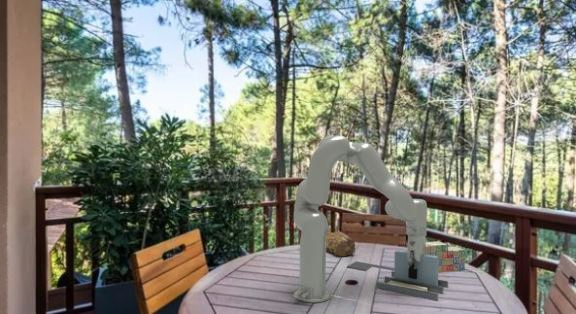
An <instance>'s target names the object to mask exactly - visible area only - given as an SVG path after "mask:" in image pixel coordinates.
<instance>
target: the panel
mask: <svg viewBox="0 0 576 314" xmlns="http://www.w3.org/2000/svg"><path fill="white" fill-rule="evenodd" d="M413 260H416V259H413ZM408 263H409V262H408V259H407V250H406V251H405V250H399V249H397V250H395V251H394V268H395V276H394V277H393V278H398V279H403V280H408V281H413V282H418V283H423V284H428V285H434V286H438V280H439V273H438V256H433V255H427V254H424V255H423V256H422V261H421V262H418V261H417V267H416V269H417V279H411V278H409V277H408V265H409V264H408ZM413 263H414V262H413ZM414 265H415V263H414Z"/></svg>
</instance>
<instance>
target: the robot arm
mask: <svg viewBox="0 0 576 314" xmlns="http://www.w3.org/2000/svg"><path fill="white" fill-rule="evenodd" d="M337 162H342V163H346V164H352V165H357V166H358V168H359V169H360V170H361V172H362V174H363V176H365V179H366V180H367V181H368V183H369V185H370V186H371V188H372V187H373V188H374V190H376V191H378V192H379V193H380V194H383V195H384V196H385V198H387V199H388V200H387V201H386V203H385V205H384V211H385V212H386V214H387V215H388V216H390V217H391V218H393V219H397V220H401V221H404V222H406V224H405V225H406V226H405V227H406V228H405V231H406V232H405V233H406V235H407V236H408V237H407V250H406V251H407V259H408V262H409V263H408V264H409V265H408V277H409V278H411V279H417V269H416V267H417V261H418V262H421V261H422V256H423V255H424V254H426V242H427V241H426V237H427V228H428V226H427V224H428V223H427V221H428V220H427V218H428V213H427V211H428V210H427V209H428V204H427V201H426V200H425V199H420V198H413V197H412V196H411V193H409V191H408V190H407V188H406V187H404V185H403V184H402V183H400V182H399V181H398V180H397V179H396V178H395V176H393V174H392V173H391V172H390V171H389V169H388V168H387V166H386V165H385V163H384V161H383V160H382V158H381V156H380V155H379V153H378V152H377V150H376V148H375V147H374V146H373V145H372V144H370V143H369V142H353V141H350V140H349V139H348V138H347V137H346V136H343V135H341V134H340V135H338V134H337V135H330V136H324V137H323V138H322V139H321V140H320V141H319V144H318V147H317V148H316V150H315V151H314V152H313V153H312V155H311V158H310V161H309V165H308V171H307V176H306V178H305V179H303V180H302V181H301V182H300V183H299V184H298V187H297V189H296V194H295V202H294V207H293V208H294V211H293V221H294V225H295V226H296V228H297V229H299V231H301V232H300V240H299V286H298V289H296V291H295V292H293V298H294V299H297V300H299V301H302V302H305V303H322V302H326V301H327V300H329V299H330V297H331V294H330V292H329V291H328V290H327V289H326V287H327V285H326V284H327V283H326V280H327V275H326V274H327V269H326V267H327V260H326V259H327V248H326V238H327V234H328V231H329V224H328V219H327V217H326V215H325V214H324V213H323V212H321V210H319V207H321V206H324V204H325V205H326V203H327V201H328V199H329V195H330V186H331V178H332V171H333V168H334V165H335V164H336V163H337ZM413 259H416V260H413ZM413 262H414V263H415V265H414V263H413Z"/></svg>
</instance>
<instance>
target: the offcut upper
mask: <svg viewBox="0 0 576 314" xmlns="http://www.w3.org/2000/svg"><path fill="white" fill-rule="evenodd" d="M387 284H392V285H397V286H402V287H406V288H411V289H416V290H421V291H426V292H429V291H428V288H426V287H420V286H415V285H410V284H405V283H400V282H395V281H390V282H388V283H387Z"/></svg>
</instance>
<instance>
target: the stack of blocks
mask: <svg viewBox="0 0 576 314" xmlns="http://www.w3.org/2000/svg"><path fill="white" fill-rule="evenodd" d="M465 253H466V252H465V249H463V248H460V247H458V246H449V245H448V244H447V243H444V242H442V241H428V242H427V241H426V254H427V255H433V256H438V274H440V273H447V272H455V271H464V270H465V267H466V266H465V263H466V262H465V259H466V256H465Z"/></svg>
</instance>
